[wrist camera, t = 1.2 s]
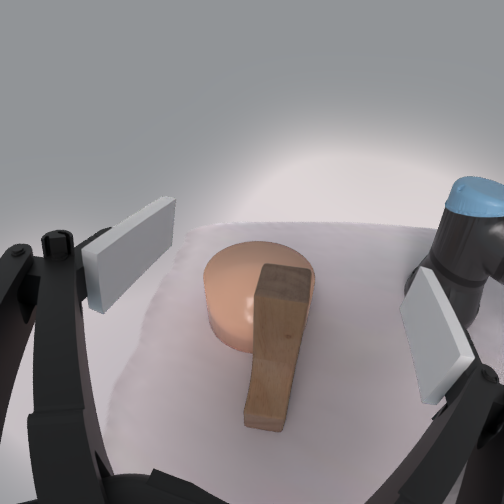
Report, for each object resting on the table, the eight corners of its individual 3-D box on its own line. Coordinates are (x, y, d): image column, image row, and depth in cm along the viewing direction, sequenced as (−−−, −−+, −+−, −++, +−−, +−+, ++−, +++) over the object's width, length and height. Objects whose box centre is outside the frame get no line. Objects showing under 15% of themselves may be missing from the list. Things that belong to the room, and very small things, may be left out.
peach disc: (300, 279, 53) (306, 241, 48) (313, 351, 41) (324, 314, 36) (212, 280, 52) (208, 241, 48) (204, 353, 40) (197, 315, 36)
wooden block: (281, 433, 31) (304, 349, 20) (243, 427, 32) (239, 339, 21) (292, 372, 38) (312, 267, 27) (258, 366, 39) (262, 260, 28)
